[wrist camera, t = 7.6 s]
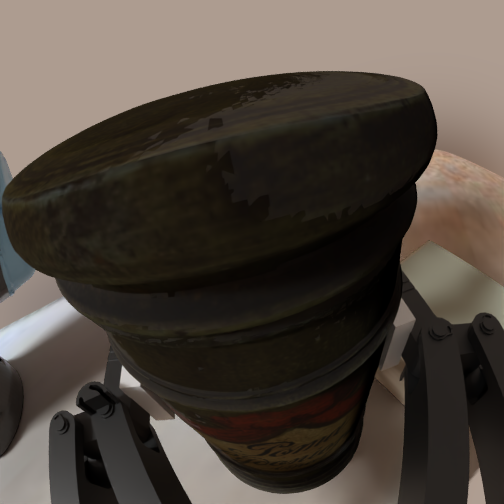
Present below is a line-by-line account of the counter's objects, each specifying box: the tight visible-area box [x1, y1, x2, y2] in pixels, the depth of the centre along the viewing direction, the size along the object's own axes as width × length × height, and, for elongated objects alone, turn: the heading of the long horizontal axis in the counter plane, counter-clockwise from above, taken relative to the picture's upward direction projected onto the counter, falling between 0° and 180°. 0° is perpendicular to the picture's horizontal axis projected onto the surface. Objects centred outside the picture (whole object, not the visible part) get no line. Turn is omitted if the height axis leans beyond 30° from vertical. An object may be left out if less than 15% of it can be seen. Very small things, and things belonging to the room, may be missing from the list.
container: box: [2, 71, 437, 494], centre depth 10 cm, size 9×9×18 cm
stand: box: [375, 240, 504, 406], centre depth 19 cm, size 12×12×5 cm
